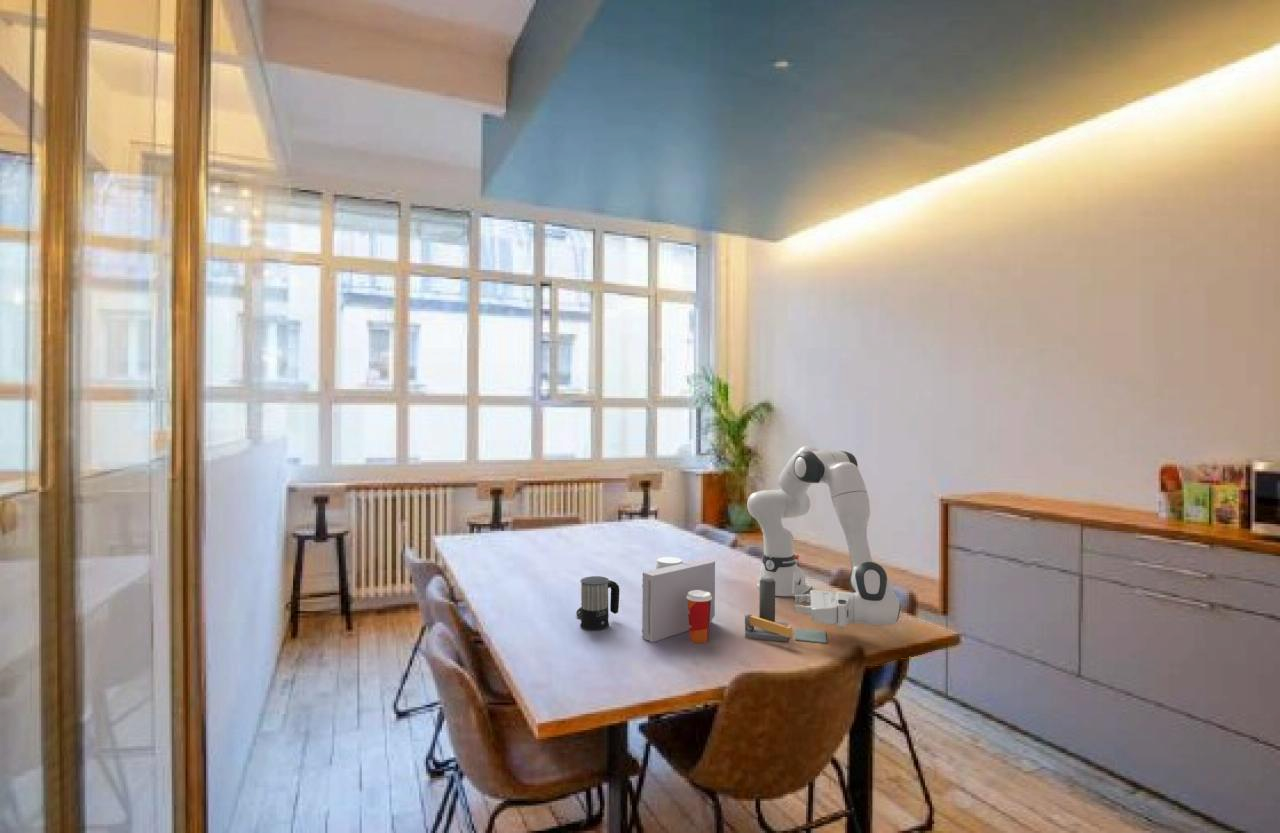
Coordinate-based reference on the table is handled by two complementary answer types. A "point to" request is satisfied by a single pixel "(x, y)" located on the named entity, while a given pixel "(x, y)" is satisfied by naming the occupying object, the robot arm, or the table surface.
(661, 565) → the supplement tub
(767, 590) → the plug
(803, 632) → the pad
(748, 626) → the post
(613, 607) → the milk frother
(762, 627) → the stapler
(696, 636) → the paper cup
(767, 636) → the gray angle bracket
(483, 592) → the table surface
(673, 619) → the game console
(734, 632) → the table surface
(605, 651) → the table surface
